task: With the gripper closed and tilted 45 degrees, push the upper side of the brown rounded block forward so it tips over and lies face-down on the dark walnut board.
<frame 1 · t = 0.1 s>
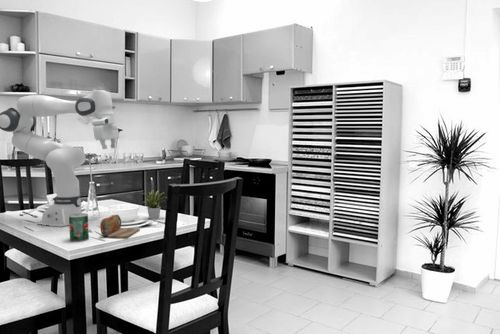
hand: (109, 148, 220), 39 cm above the table, tool pointing down, fingers open, 8 cm apart
canned tomato: (79, 239, 194), on the table
walnut board: (124, 234, 203), on the table
house plant: (152, 219, 236), on the table
brown rounded block: (111, 234, 204), on the table
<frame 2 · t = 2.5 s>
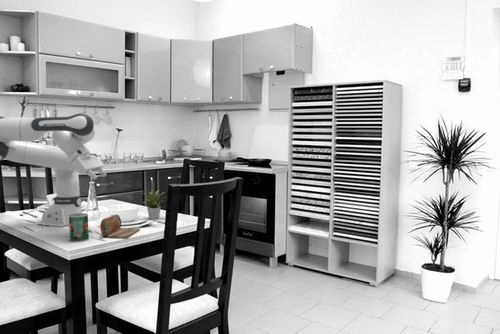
hand: (100, 177, 202), 27 cm above the table, tool tilted 45°, fingers open, 8 cm apart
nothing on the table moved.
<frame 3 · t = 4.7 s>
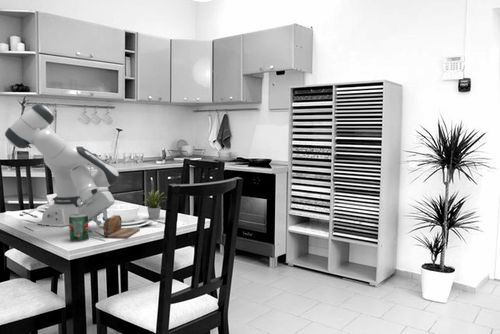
hand: (102, 222, 201), 6 cm above the table, tool tilted 35°, fingers open, 3 cm apart
brown rounded block: (111, 234, 204), on the table, touching gripper, walnut board
everything else where it was.
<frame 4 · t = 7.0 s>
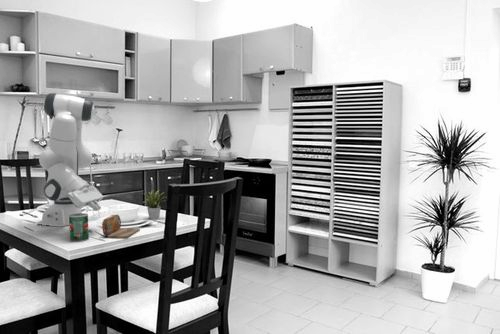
hand: (98, 209, 202), 12 cm above the table, tool tilted 45°, fingers closed
brown rounded block: (111, 234, 204), on the table
everything else where it was.
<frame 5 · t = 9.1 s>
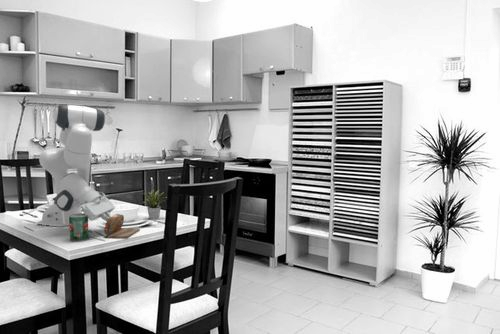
hand: (110, 221, 203), 6 cm above the table, tool tilted 45°, fingers closed, pressing on brown rounded block
brown rounded block: (111, 233, 204), on the table, touching gripper, walnut board
everything else where it was.
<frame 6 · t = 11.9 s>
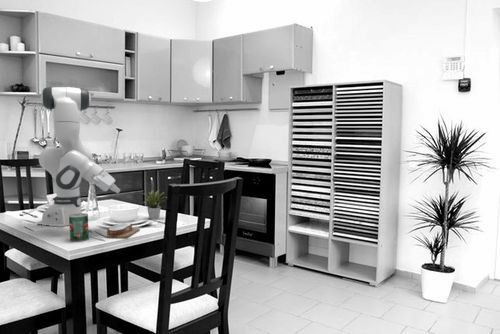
hand: (119, 191, 207), 19 cm above the table, tool tilted 50°, fingers closed
brown rounded block: (111, 228, 204), point 3 cm above the table, touching walnut board
everything else where it was.
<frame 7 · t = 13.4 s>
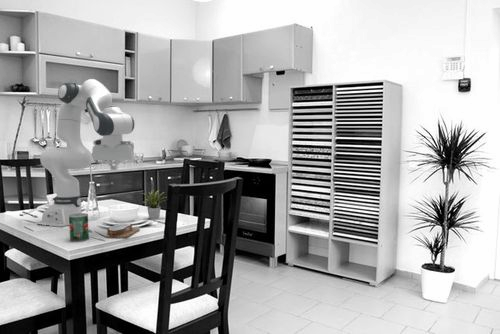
hand: (113, 169, 210), 29 cm above the table, tool pointing down, fingers closed
nothing on the table moved.
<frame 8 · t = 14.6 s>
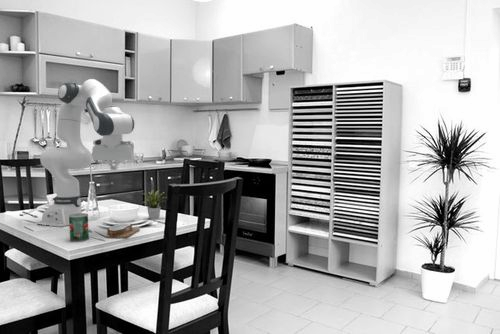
hand: (113, 169, 210), 29 cm above the table, tool pointing down, fingers closed
nothing on the table moved.
at the end: brown rounded block tilted 94°; brown rounded block inside the target area (4.1 cm from its centre), point 2.6 cm above the table; brown rounded block touching walnut board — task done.
